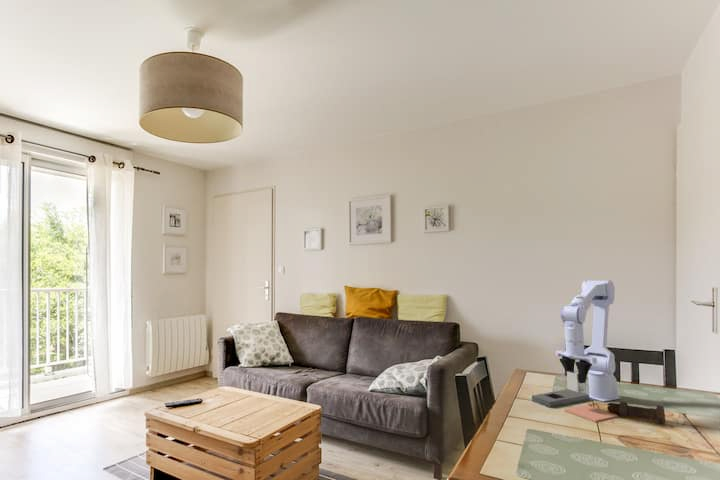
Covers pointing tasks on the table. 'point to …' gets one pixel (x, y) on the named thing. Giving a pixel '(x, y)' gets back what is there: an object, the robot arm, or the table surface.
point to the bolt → (638, 411)
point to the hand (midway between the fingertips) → (576, 381)
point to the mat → (591, 413)
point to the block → (560, 398)
